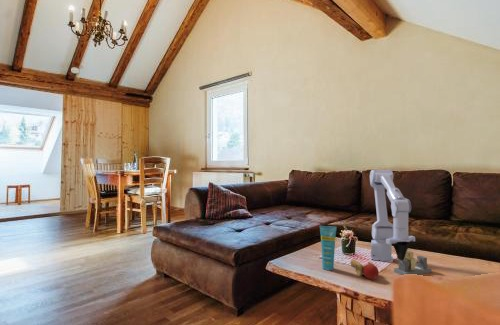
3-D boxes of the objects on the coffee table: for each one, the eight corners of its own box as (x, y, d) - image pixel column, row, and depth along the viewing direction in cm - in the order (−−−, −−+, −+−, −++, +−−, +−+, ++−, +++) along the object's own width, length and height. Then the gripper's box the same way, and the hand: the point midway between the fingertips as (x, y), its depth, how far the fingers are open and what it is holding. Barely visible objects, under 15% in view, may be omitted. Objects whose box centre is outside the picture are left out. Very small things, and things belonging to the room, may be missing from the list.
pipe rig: (405, 276, 122) (405, 262, 121) (394, 271, 127) (394, 258, 127) (431, 272, 127) (431, 258, 127) (419, 267, 132) (419, 254, 132)
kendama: (344, 269, 134) (364, 279, 116) (345, 255, 135) (366, 263, 117) (359, 271, 135) (382, 282, 117) (361, 257, 136) (384, 265, 118)
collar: (411, 269, 124) (411, 253, 123) (402, 266, 128) (402, 250, 128) (415, 269, 124) (415, 252, 124) (406, 265, 129) (406, 249, 129)
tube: (319, 269, 130) (319, 226, 130) (320, 265, 135) (319, 224, 135) (336, 271, 128) (336, 227, 128) (336, 267, 133) (336, 225, 133)
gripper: (395, 231, 118) (395, 264, 118) (421, 228, 123) (421, 260, 123) (382, 227, 125) (382, 259, 125) (407, 224, 130) (407, 255, 130)
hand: (400, 259), depth 124 cm, fingers closed
